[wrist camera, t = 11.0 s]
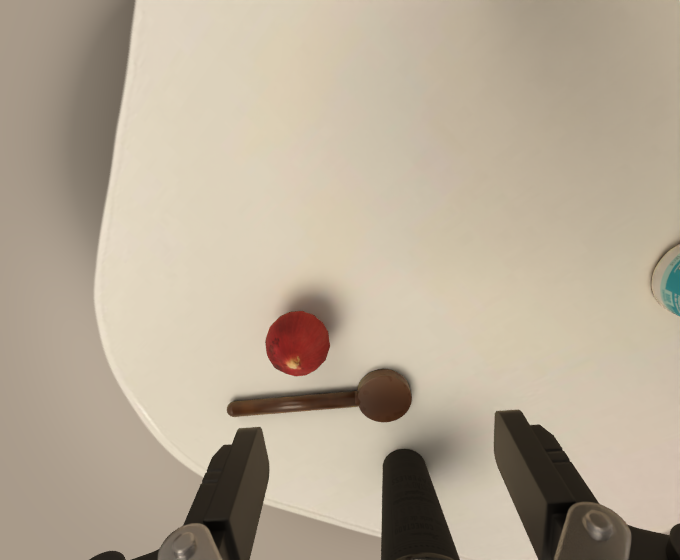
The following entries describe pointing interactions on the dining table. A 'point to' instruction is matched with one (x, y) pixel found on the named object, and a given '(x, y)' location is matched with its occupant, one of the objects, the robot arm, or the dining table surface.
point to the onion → (297, 343)
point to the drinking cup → (412, 512)
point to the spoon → (341, 399)
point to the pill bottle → (668, 281)
